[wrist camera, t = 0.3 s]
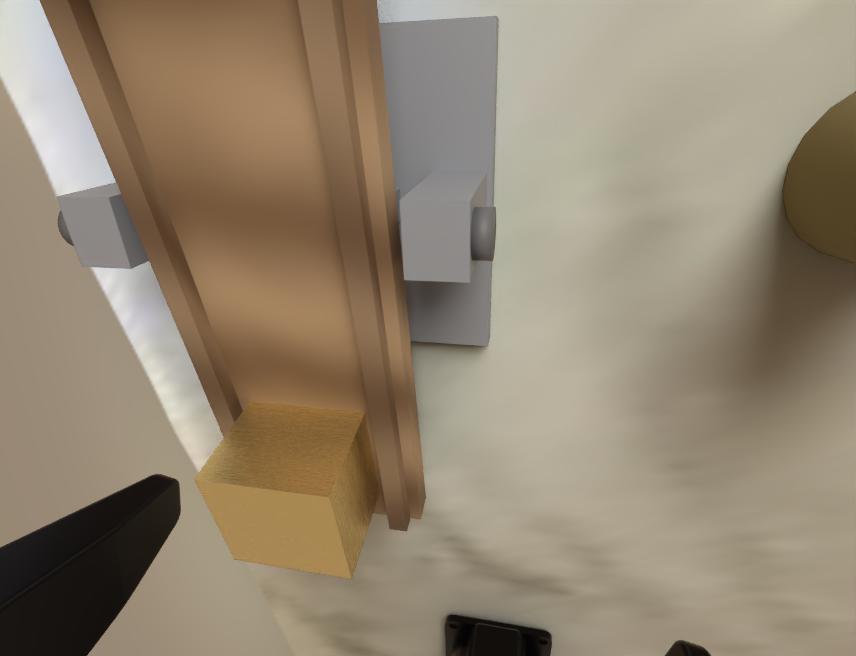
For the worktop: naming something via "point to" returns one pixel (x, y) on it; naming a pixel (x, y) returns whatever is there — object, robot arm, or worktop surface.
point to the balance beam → (263, 201)
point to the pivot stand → (413, 174)
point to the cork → (826, 183)
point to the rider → (293, 487)
